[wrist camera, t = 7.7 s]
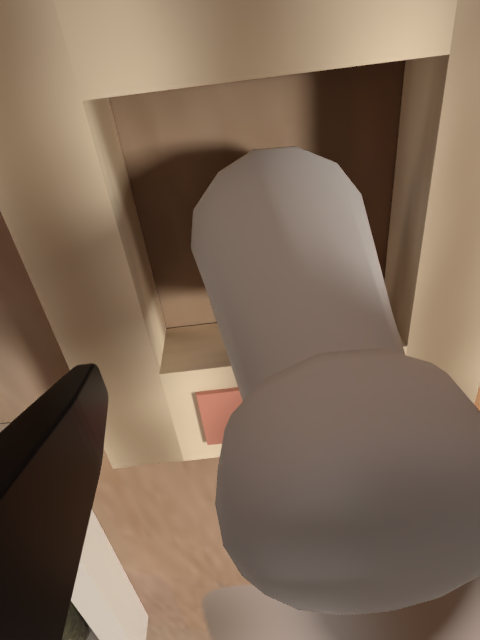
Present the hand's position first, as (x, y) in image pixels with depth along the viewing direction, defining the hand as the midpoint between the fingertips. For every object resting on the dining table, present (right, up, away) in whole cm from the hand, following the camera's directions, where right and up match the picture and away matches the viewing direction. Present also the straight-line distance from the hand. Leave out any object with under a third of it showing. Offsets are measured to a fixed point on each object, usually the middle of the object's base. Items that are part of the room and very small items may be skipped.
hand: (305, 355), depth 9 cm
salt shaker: (0, +5, +7) cm, 9 cm away
